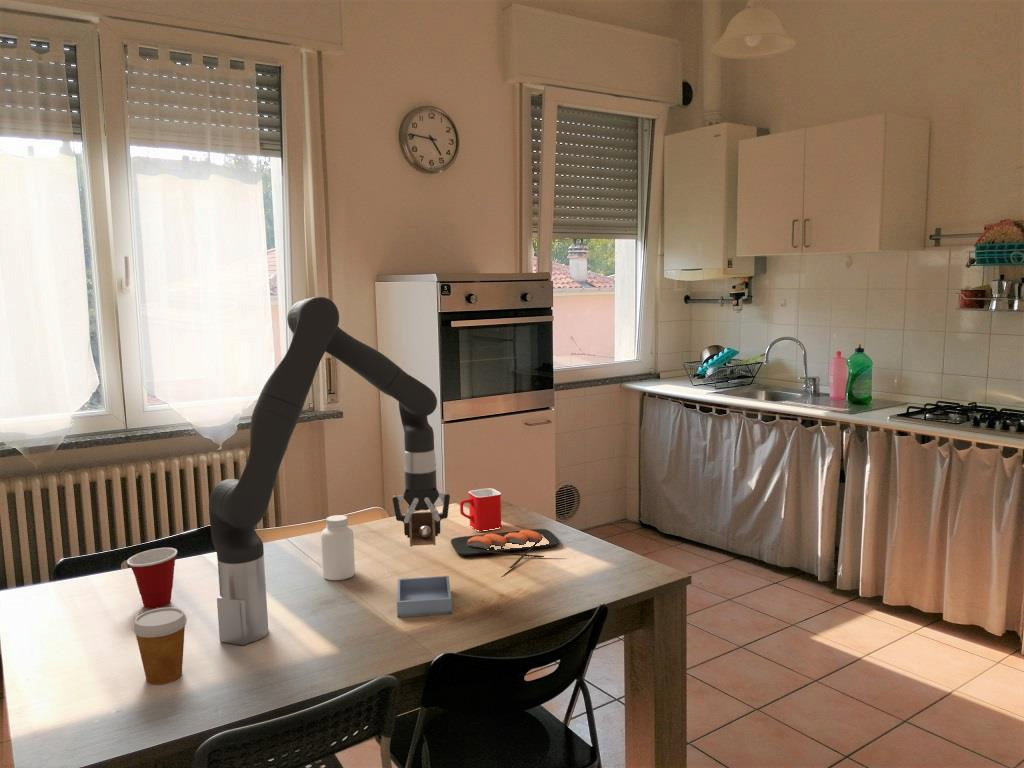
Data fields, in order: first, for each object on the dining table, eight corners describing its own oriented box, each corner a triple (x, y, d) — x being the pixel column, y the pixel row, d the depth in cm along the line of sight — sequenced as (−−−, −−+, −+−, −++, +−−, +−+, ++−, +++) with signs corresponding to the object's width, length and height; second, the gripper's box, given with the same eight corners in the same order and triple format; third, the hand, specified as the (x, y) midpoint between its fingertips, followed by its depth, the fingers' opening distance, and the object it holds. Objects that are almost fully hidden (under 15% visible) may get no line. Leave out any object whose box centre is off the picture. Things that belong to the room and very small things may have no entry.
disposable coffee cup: (198, 663, 161) (193, 605, 159) (180, 688, 151) (175, 626, 150) (149, 665, 160) (144, 607, 159) (128, 690, 151) (122, 628, 149)
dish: (398, 593, 195) (397, 579, 194) (448, 589, 196) (448, 575, 196) (397, 617, 181) (396, 602, 180) (452, 613, 182) (451, 598, 182)
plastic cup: (133, 598, 194) (129, 549, 193) (182, 592, 197) (179, 544, 196) (127, 616, 184) (123, 565, 182) (179, 609, 187) (175, 559, 186)
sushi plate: (547, 534, 238) (547, 521, 237) (582, 569, 209) (582, 555, 209) (448, 544, 230) (448, 531, 230) (471, 582, 202) (470, 567, 201)
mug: (492, 521, 249) (491, 487, 247) (504, 529, 242) (503, 494, 240) (455, 527, 244) (454, 493, 242) (466, 535, 236) (465, 499, 235)
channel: (410, 534, 202) (409, 512, 202) (434, 533, 203) (434, 511, 202) (410, 546, 194) (409, 524, 193) (435, 545, 194) (434, 522, 193)
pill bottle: (359, 570, 210) (356, 513, 208) (349, 581, 202) (347, 523, 200) (329, 569, 211) (326, 513, 209) (318, 581, 203) (315, 522, 201)
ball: (429, 531, 200) (427, 542, 198) (417, 527, 199) (415, 538, 197) (434, 525, 198) (432, 536, 196) (422, 521, 197) (420, 532, 195)
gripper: (389, 473, 191) (392, 542, 194) (451, 470, 193) (453, 539, 195) (390, 466, 199) (393, 533, 201) (449, 463, 200) (451, 529, 203)
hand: (422, 535), depth 198 cm, fingers closed on channel, 6 cm apart
